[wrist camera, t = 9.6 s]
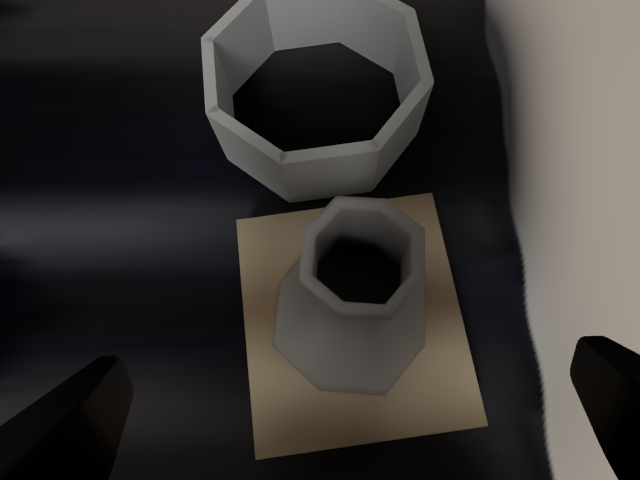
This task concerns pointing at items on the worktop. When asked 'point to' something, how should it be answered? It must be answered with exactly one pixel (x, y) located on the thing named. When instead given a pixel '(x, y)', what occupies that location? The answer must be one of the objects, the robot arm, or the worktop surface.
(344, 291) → the flask
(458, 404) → the oak board
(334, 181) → the collar
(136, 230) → the worktop surface
